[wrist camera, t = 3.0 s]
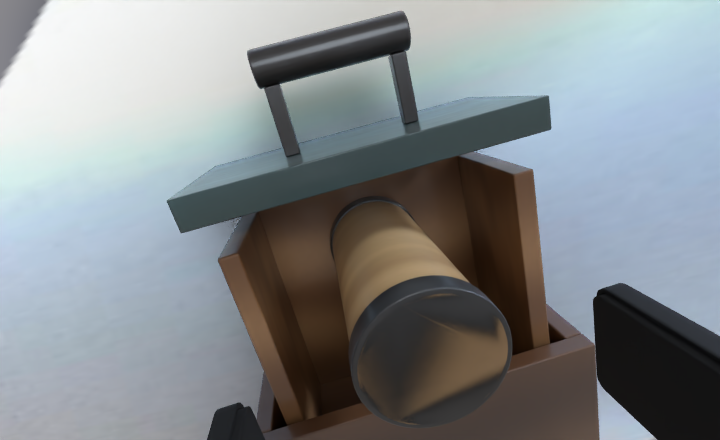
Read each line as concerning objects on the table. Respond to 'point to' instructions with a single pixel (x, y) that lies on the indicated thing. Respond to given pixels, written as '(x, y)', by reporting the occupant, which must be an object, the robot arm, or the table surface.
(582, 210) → the table surface
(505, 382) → the cabinet
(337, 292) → the drawer
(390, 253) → the tan cylindrical container
